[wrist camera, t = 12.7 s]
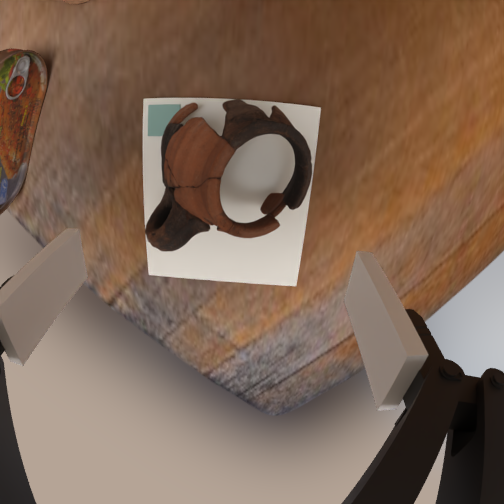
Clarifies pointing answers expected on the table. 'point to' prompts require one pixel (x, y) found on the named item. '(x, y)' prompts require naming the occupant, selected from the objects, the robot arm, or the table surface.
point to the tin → (18, 116)
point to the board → (234, 197)
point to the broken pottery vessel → (218, 174)
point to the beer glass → (75, 1)
